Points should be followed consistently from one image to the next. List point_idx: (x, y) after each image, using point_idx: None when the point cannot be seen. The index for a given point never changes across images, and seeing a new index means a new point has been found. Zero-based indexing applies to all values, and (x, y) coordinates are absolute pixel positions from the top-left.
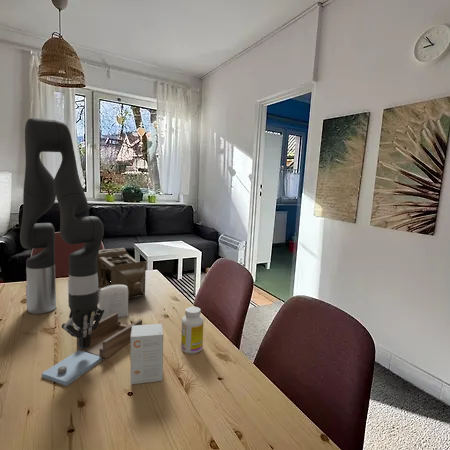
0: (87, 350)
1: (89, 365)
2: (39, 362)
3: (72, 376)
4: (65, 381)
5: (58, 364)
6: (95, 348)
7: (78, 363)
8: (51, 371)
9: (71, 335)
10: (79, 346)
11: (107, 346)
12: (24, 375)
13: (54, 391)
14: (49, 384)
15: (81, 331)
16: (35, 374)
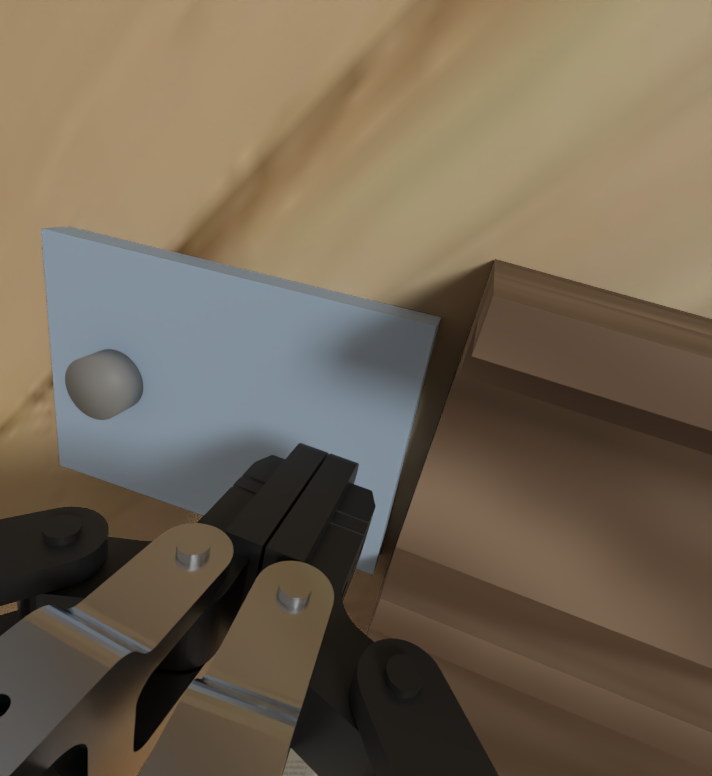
0: (460, 408)
1: None
2: (197, 11)
3: (111, 473)
4: (60, 456)
5: (170, 285)
6: (511, 468)
7: (239, 441)
8: (86, 293)
9: (28, 519)
10: (262, 465)
11: None
12: (22, 55)
13: (24, 410)
14: (46, 340)
15: (204, 605)
16: (68, 145)
